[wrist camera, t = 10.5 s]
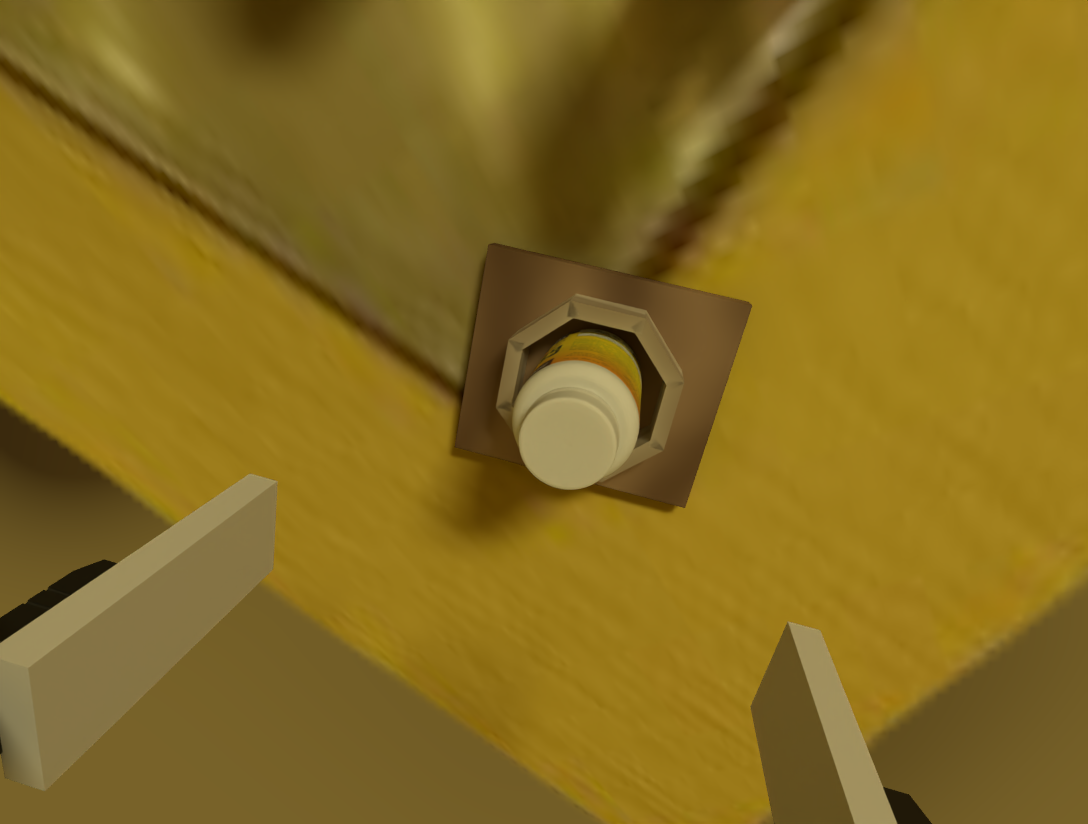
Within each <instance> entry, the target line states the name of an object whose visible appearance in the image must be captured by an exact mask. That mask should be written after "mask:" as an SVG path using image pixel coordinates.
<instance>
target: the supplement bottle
mask: <svg viewBox="0 0 1088 824" xmlns="http://www.w3.org/2000/svg"><path fill="white" fill-rule="evenodd" d="M641 390H642V375H641V369H640V365H639V362H638V359H637V357H636V355H635V353H634V352H633V350H632V349H631V348H630V347H629V346H628V344H627V343H625V342H624V341H623V340H622V339H621V338H619V337H617V336H616V335H614V334H612V333H609V332H607V331H603V330H599V329H582V330H577V331H574V332H571V333H569V334H567V335H565V336H563V337H562V338H560V339H559V340H558V341H556V342H555V343H554V344H553V345H552V346H551V348H550V349H549V350H548V351H547V353H546V354H545V356H544V357H543V358H542V360H541V361H540V363H539V364H538V365H537V367H536V368H535V370H534V371H533V372H532V374H531V375H530V377H529V378H528V379H527V381H526V382H525V384H524V385H523V387H522V388H521V390H520V391H519V393H518V396H517V398H516V401H515V404H514V407H513V413H512V427H513V433H514V437H515V440H516V442H517V445H518V447H519V451H520V454H521V457H522V460H523V462H524V464H525V465H526V467H527V468H528V470H529V471H530V472H531V473H532V474H533V475H534V476H535V477H536V478H537V479H539V480H540V481H542V482H543V483H545V484H547V485H549V486H552V487H555V488H559V489H565V490H575V489H581V488H585V487H588V486H590V485H592V484H594V483H596V482H598V481H599V480H600V479H602V478H604V477H606V476H608V475H610V474H612V473H613V472H615V471H616V470H617V469H619V468H620V467H621V466H622V465H623V464H624V463H625V461H626V460H627V459H628V458H629V456H630V455H631V453H632V451H633V449H634V447H635V445H636V441H637V438H638V433H639V425H640V405H641Z"/></svg>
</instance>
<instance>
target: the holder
mask: <svg viewBox="0 0 1088 824" xmlns="http://www.w3.org/2000/svg"><path fill="white" fill-rule="evenodd" d="M751 308H752V305H751V304H750V303H749V302H746V301H742V300H737V299H733V298H729V297H724V296H720V295H716V294H711V293H707V292H703V291H699V290H694V289H690V288H686V287H681V286H677V285H673V284H668V283H664V282H660V281H655V280H651V279H647V278H642V277H638V276H634V275H630V274H625V273H621V272H617V271H612V270H608V269H604V268H599V267H595V266H591V265H586V264H582V263H578V262H574V261H569V260H565V259H561V258H556V257H552V256H548V255H543V254H539V253H535V252H530V251H526V250H522V249H517V248H513V247H509V246H505V245H500V244H496V243H493V244H489V245H488V251H487V257H486V263H485V269H484V275H483V281H482V287H481V293H480V299H479V305H478V311H477V317H476V323H475V329H474V335H473V341H472V347H471V353H470V359H469V365H468V371H467V377H466V383H465V389H464V395H463V401H462V407H461V413H460V419H459V425H458V431H457V437H456V443H455V447H456V448H460V449H464V450H468V451H471V452H475V453H479V454H483V455H486V456H490V457H494V458H498V459H502V460H505V461H509V462H513V463H517V464H521V465H524V466H526V465H525V464H524V462H523V460H522V457H521V454H520V451H519V447H518V445H517V442H516V440H515V437H514V433H513V427H512V413H513V407H514V404H515V401H516V398H517V396H518V393H519V391H520V390H521V388H522V387H523V385H524V384H525V382H526V381H527V379H528V378H529V377H530V375H531V374H532V372H533V371H534V370H535V368H536V367H537V365H538V364H539V363H540V361H541V360H542V358H543V357H544V356H545V354H546V353H547V351H548V350H549V349H550V348H551V346H552V345H553V344H554V343H555V342H556V341H558V340H559V339H560V338H562V337H563V336H565V335H567V334H569V333H571V332H574V331H577V330H582V329H599V330H603V331H607V332H609V333H612V334H614V335H616V336H617V337H619V338H621V339H622V340H623V341H624V342H625V343H627V344H628V346H629V347H630V348H631V349H632V350H633V352H634V353H635V355H636V357H637V359H638V362H639V365H640V369H641V375H642V390H641V405H640V425H639V433H638V438H637V441H636V445H635V447H634V449H633V451H632V453H631V455H630V456H629V458H628V459H627V460H626V461H625V463H624V464H623V465H622V466H621V467H620V468H619V469H617V470H616V471H615V472H613V473H612V474H610V475H608V476H606V477H604V478H602V479H600V480H599V481H598V482H596V483H594V484H596V485H600V486H604V487H608V488H611V489H615V490H619V491H623V492H626V493H630V494H634V495H638V496H642V497H645V498H649V499H653V500H657V501H660V502H664V503H668V504H672V505H676V506H679V507H683V508H685V506H686V503H687V500H688V497H689V494H690V491H691V488H692V485H693V482H694V479H695V476H696V473H697V470H698V467H699V464H700V461H701V458H702V455H703V452H704V449H705V446H706V443H707V440H708V437H709V434H710V431H711V428H712V425H713V422H714V419H715V416H716V413H717V410H718V407H719V404H720V401H721V398H722V395H723V392H724V389H725V386H726V383H727V380H728V377H729V374H730V371H731V368H732V365H733V362H734V359H735V356H736V353H737V350H738V347H739V344H740V341H741V338H742V335H743V332H744V329H745V326H746V323H747V320H748V317H749V314H750V311H751Z"/></svg>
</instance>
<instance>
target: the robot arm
mask: <svg viewBox="0 0 1088 824" xmlns="http://www.w3.org/2000/svg"><path fill="white" fill-rule="evenodd" d="M276 500H277V481H275V480H271V479H267V478H264V477H260V476H257V475H253V474H249V475H247V476H246V477H244V478H243V479H241V480H240V481H238V482H237V483H235V484H234V485H232V486H231V487H229V488H228V489H227V490H225V491H224V492H222V493H221V494H219V495H218V496H216V497H215V498H213V499H212V500H210V501H209V502H207V503H206V504H204V505H203V506H201V507H200V508H199V509H197V510H196V511H194V512H193V513H191V514H190V515H188V516H187V517H185V518H184V519H182V520H181V521H179V522H178V523H176V524H175V525H173V526H172V527H171V528H169V529H168V530H166V531H165V532H163V533H162V534H160V535H159V536H157V537H156V538H154V539H153V540H151V541H150V542H149V543H147V544H145V545H144V546H143V547H141V548H140V549H138V550H137V551H135V552H134V553H132V554H131V555H129V556H128V557H126V558H125V559H123V560H122V561H121V562H119V563H114V562H111V561H107V560H102V561H99V562H96V563H93V564H91V565H88V566H85V567H83V568H80V569H77V570H75V571H73V572H71V573H69V574H68V575H66V576H65V577H63V578H62V579H60V580H59V581H57V582H56V583H54V584H52V585H51V586H49V587H48V590H47V591H45V590H43V591H41V592H40V593H38V594H37V595H35V596H34V597H32V598H30V599H29V600H28V602H27V603H26V604H21V605H19V606H18V607H16V608H15V609H13V610H12V611H10V612H9V613H7V614H5V615H4V616H2V617H1V618H0V754H1V758H2V763H3V769H4V775H5V778H7V779H10V780H13V781H16V782H19V783H22V784H25V785H28V786H31V787H34V788H37V789H40V790H43V791H46V790H47V789H48V788H49V787H50V786H51V785H52V784H53V783H54V782H55V781H56V780H57V779H58V778H59V777H60V776H61V775H62V774H63V773H64V772H65V771H66V770H67V769H68V768H69V767H70V766H71V765H72V764H74V763H75V761H77V760H78V759H79V758H80V757H81V756H82V755H83V754H84V753H85V752H86V751H87V750H88V749H89V748H90V747H91V746H92V745H93V744H94V743H95V742H96V741H97V740H98V739H99V738H100V737H101V736H102V735H103V734H104V733H105V732H106V731H107V730H108V729H109V728H111V727H112V725H114V724H115V723H116V722H117V721H118V720H119V719H120V718H121V717H122V716H123V715H124V714H125V713H126V712H127V711H128V710H129V709H130V708H131V707H132V706H133V705H134V704H135V703H136V702H137V701H138V700H139V699H140V698H141V697H142V696H143V695H144V694H145V693H146V692H147V691H148V690H149V689H150V688H151V687H153V686H154V685H155V684H156V683H157V682H158V681H159V680H160V679H161V678H162V677H163V676H164V675H165V674H166V673H167V672H168V671H169V670H170V669H171V668H172V667H173V666H174V665H175V664H176V663H177V662H178V661H179V660H180V659H181V658H182V657H183V656H184V655H185V654H186V653H188V651H190V649H192V648H193V647H194V646H195V645H196V644H197V643H198V642H199V641H200V640H201V639H202V638H203V637H204V636H205V635H206V634H207V633H208V632H209V631H210V630H211V629H212V628H213V627H214V626H215V625H216V624H217V623H218V622H219V621H220V620H221V619H222V618H223V617H224V616H225V615H227V614H228V613H229V611H231V610H232V609H233V608H234V607H235V606H236V605H237V604H238V603H239V602H240V601H241V600H242V599H243V598H244V597H245V596H246V595H247V594H248V593H249V592H250V591H251V590H252V589H253V588H254V587H255V586H256V585H257V584H258V583H259V582H260V581H261V580H262V579H263V578H265V577H266V576H267V575H268V574H269V573H270V572H271V571H272V570H273V561H274V540H275V520H276ZM751 712H752V717H753V721H754V726H755V731H756V736H757V741H758V746H759V751H760V756H761V761H762V766H763V771H764V776H765V781H766V786H767V791H768V796H769V801H770V806H771V811H772V816H773V821H774V824H932V823H931V822H930V821H929V819H928V818H927V817H926V816H925V814H924V813H923V812H922V810H921V809H920V808H919V807H918V805H917V804H916V803H915V802H914V800H913V799H912V798H911V796H910V795H909V794H905V793H902V792H898V791H895V790H892V789H888V788H885V787H882V784H881V782H880V779H879V777H878V774H877V772H876V769H875V767H874V764H873V762H872V759H871V757H870V754H869V752H868V749H867V747H866V744H865V742H864V739H863V736H862V734H861V731H860V729H859V726H858V724H857V721H856V719H855V716H854V714H853V711H852V709H851V706H850V704H849V701H848V699H847V696H846V694H845V691H844V689H843V686H842V684H841V681H840V679H839V676H838V674H837V671H836V669H835V666H834V664H833V661H832V659H831V656H830V654H829V651H828V649H827V646H826V644H825V641H824V639H823V636H822V634H821V631H820V630H817V629H814V628H810V627H806V626H803V625H799V624H795V623H792V622H787V625H786V627H785V629H784V631H783V634H782V636H781V638H780V641H779V643H778V645H777V647H776V650H775V652H774V654H773V657H772V659H771V661H770V663H769V666H768V668H767V670H766V673H765V675H764V677H763V679H762V682H761V684H760V686H759V689H758V691H757V693H756V695H755V698H754V700H753V702H752V705H751Z"/></svg>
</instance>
